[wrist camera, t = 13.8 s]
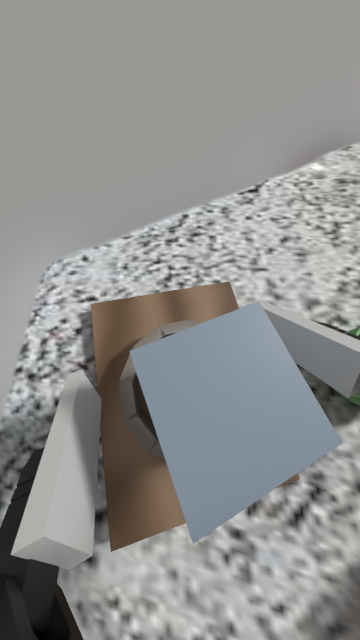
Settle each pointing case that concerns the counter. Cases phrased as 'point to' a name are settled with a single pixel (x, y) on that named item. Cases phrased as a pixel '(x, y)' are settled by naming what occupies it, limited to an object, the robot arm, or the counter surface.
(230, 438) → the slate peg
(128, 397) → the collar plate
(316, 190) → the counter surface
